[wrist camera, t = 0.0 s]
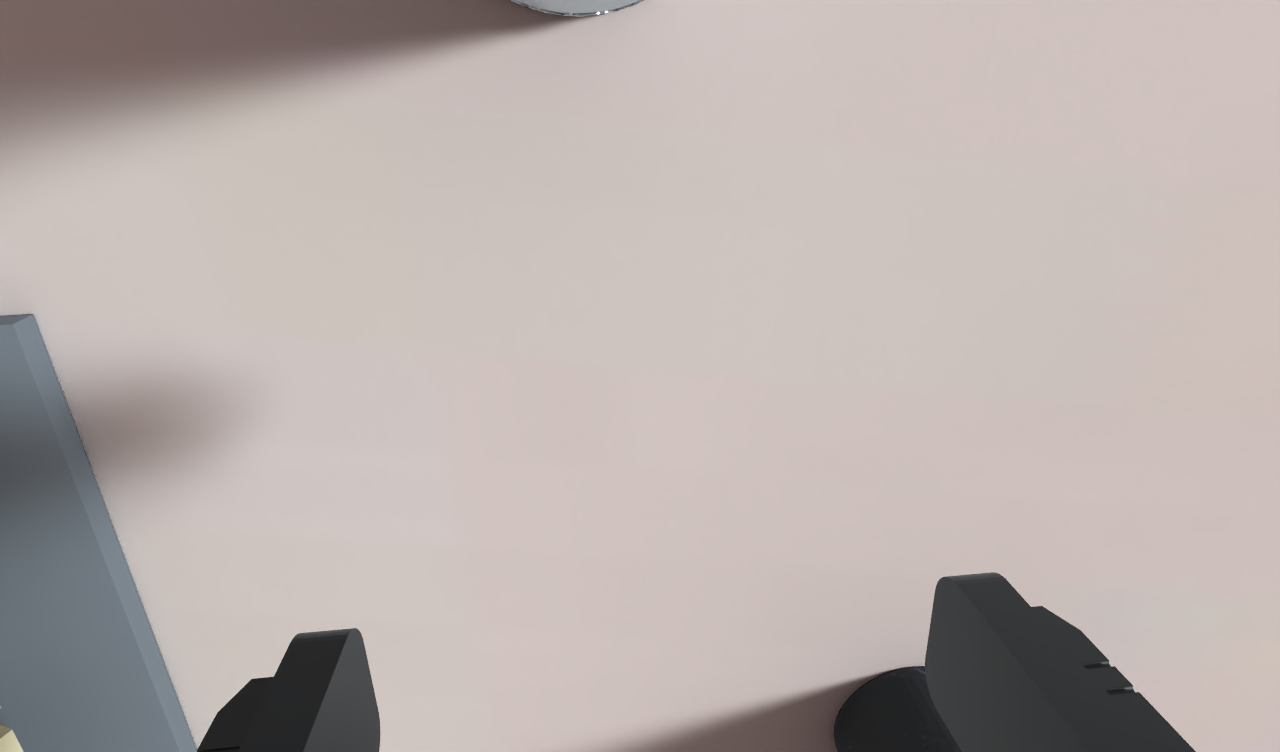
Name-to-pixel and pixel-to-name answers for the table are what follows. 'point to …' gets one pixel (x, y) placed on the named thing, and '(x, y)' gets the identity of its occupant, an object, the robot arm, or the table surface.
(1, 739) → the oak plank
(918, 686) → the travel mug
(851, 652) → the table surface
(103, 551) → the underlay board
